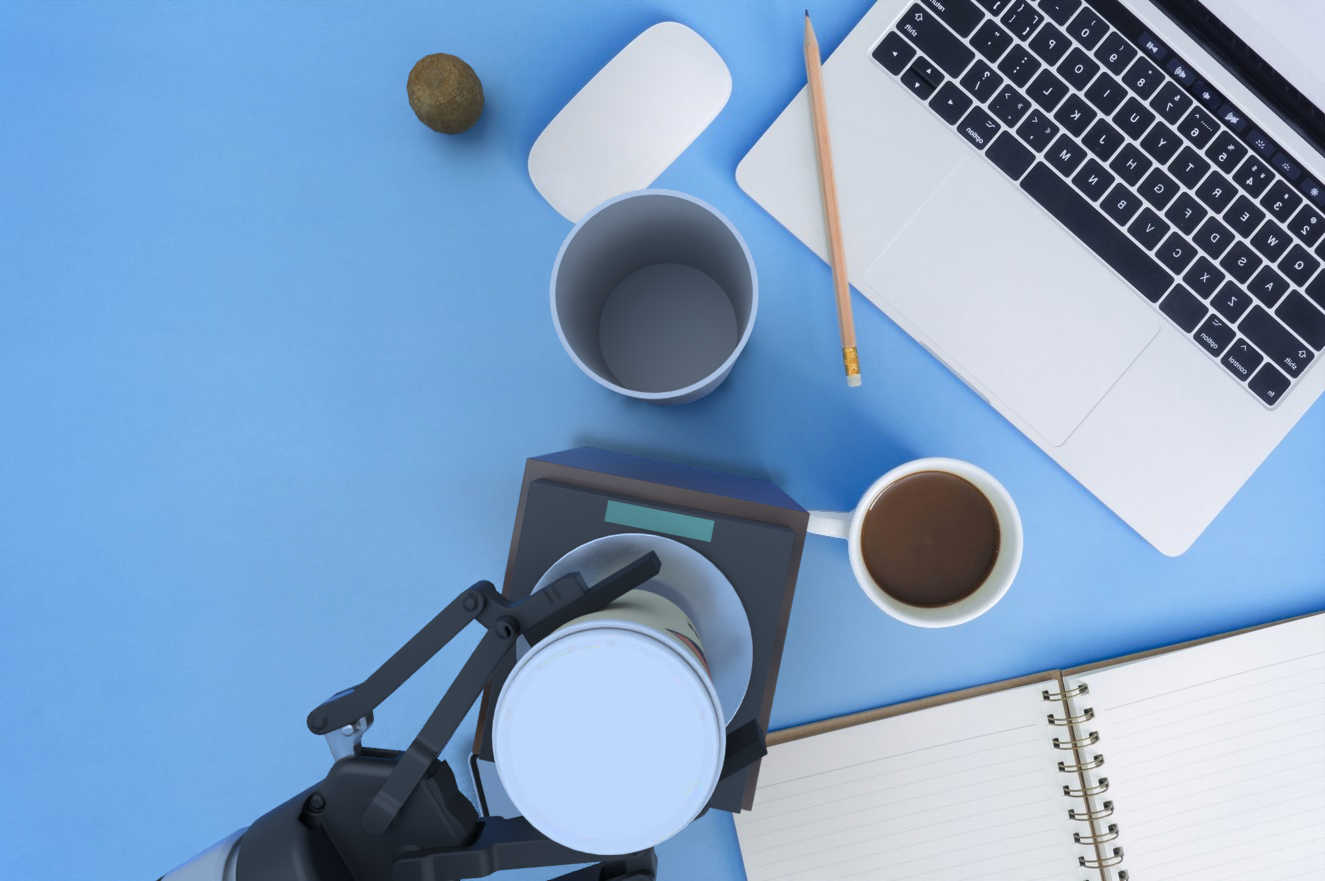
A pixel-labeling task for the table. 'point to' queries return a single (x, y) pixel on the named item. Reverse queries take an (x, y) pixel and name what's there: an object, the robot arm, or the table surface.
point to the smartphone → (490, 790)
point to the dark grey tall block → (678, 489)
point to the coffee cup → (612, 728)
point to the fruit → (445, 93)
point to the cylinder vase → (655, 296)
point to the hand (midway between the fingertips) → (708, 648)
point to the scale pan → (675, 601)
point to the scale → (730, 542)
